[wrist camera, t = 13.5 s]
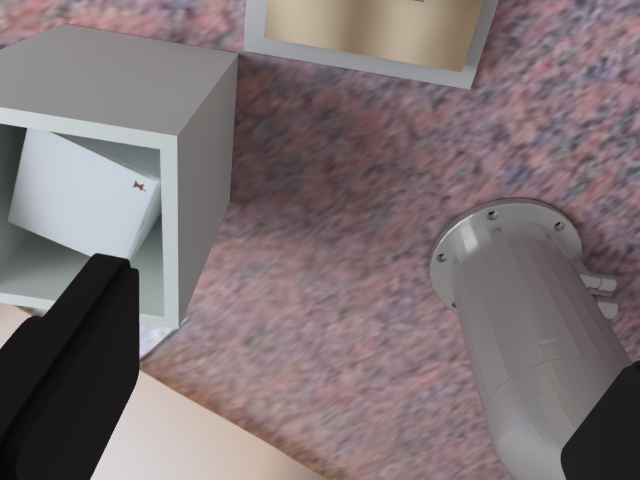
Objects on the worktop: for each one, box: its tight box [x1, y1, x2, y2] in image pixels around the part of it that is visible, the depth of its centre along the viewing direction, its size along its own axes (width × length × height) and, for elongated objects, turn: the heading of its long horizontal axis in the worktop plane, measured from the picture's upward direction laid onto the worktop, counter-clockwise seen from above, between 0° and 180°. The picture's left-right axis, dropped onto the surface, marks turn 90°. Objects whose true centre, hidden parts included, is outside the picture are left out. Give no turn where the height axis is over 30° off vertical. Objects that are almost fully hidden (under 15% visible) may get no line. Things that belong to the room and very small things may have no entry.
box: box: [0, 23, 239, 329], centre depth 32 cm, size 12×12×15 cm
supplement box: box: [8, 128, 162, 263], centre depth 33 cm, size 7×7×13 cm
